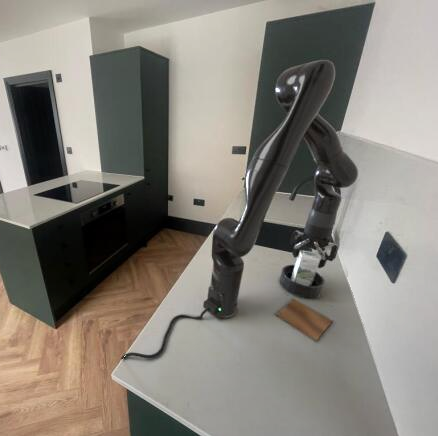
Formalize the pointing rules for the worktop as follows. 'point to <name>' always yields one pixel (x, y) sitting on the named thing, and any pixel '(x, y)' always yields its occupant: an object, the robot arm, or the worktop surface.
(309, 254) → the syrup box
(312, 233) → the robot arm
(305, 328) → the coaster
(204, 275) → the worktop surface
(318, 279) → the bowl
